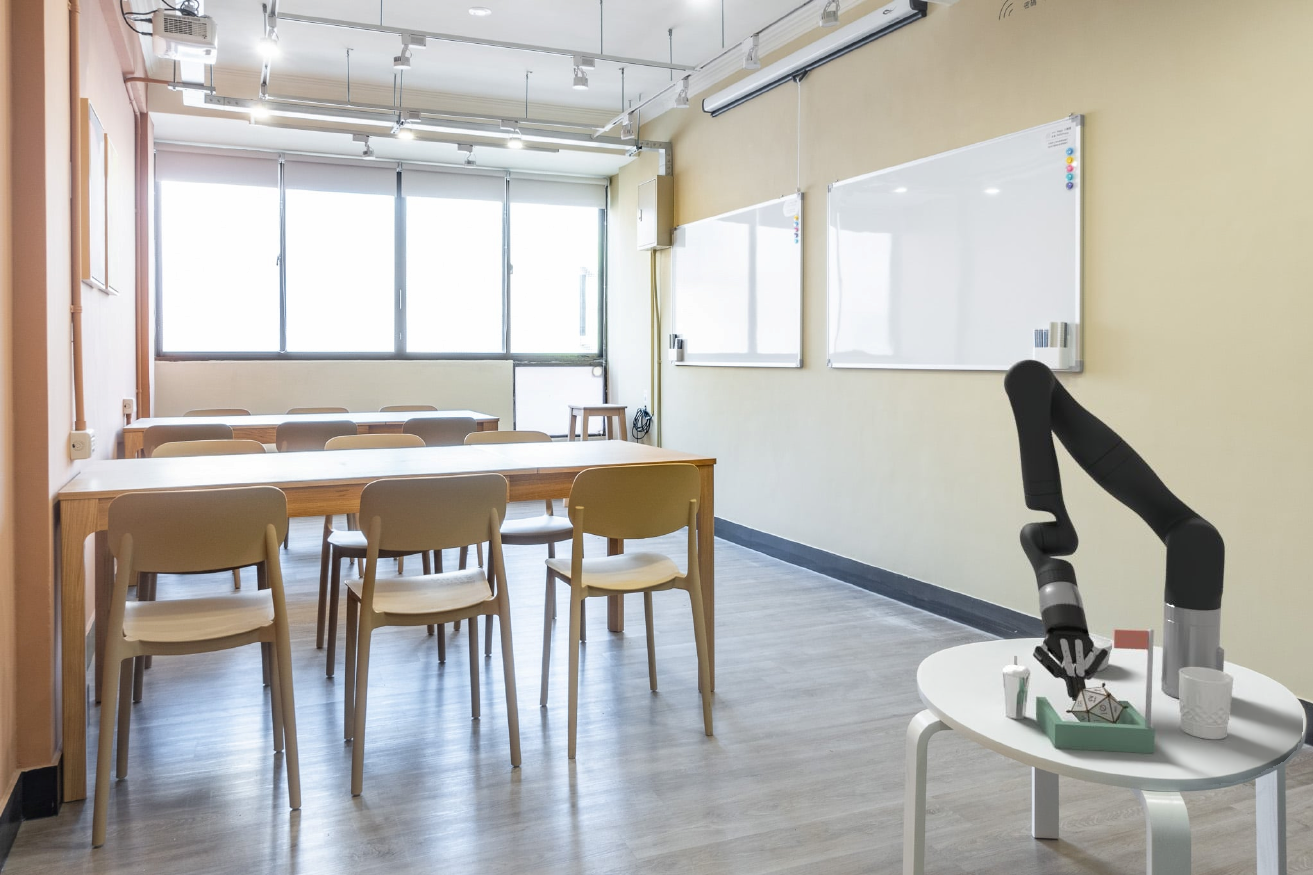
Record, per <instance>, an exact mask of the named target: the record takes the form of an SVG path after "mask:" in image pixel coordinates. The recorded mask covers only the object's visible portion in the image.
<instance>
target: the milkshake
mask: <svg viewBox="0 0 1313 875" xmlns="http://www.w3.org/2000/svg"><path fill="white" fill-rule="evenodd" d="M1013 657H1014V658H1013V664H1009V665H1006V666H1005V667H1003V669H1002V677H1003V678H1002V679H1003V680H1002V681H1003V688H1004V701H1005V702H1004V704H1005V715H1006V717H1008V718H1010V719H1014V720H1022V719H1026V712H1027V701H1028V692H1029V687H1030V678H1031V671H1030V669H1029V668H1028V667H1026V666H1023V665H1018V656H1017V655H1014V656H1013Z"/></svg>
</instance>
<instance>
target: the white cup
mask: <svg viewBox="0 0 1313 875" xmlns="http://www.w3.org/2000/svg"><path fill="white" fill-rule="evenodd" d="M1233 686H1234V676H1232V675H1231V674H1229V673H1227V672H1224V671H1223V672H1222V671H1218V670H1214V669H1209V668H1202V667H1185V668H1181V669H1180V670H1179V698H1178V700H1179V702H1178V703H1179V713H1180V728H1181V730H1182V731H1183V732H1184V733H1186V734H1188V735H1189V736H1193V737H1195V738H1201V739H1206V740H1222V739H1225V738H1227V736H1228V728H1229V726H1228V725H1229V721H1230V717H1231V716H1230V715H1231V707H1232V699H1233V698H1232V697H1233V689H1234V688H1233Z"/></svg>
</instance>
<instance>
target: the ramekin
mask: <svg viewBox="0 0 1313 875" xmlns="http://www.w3.org/2000/svg"><path fill="white" fill-rule="evenodd" d="M1089 637H1090V638H1091V640H1092V641H1093V643H1094V646H1095V647H1097V648H1099V649H1100V650H1102V649H1105V650H1107V651H1108V655H1107V657H1106V658H1105V660H1104V662H1103V663H1102V664H1101V666H1100V667H1099V669H1098V670H1097V671H1096V672H1102V671H1104V670H1105V669H1106V668H1107V666H1108V664H1109V661H1110V656H1111V653H1112V652H1111V651H1112V649H1113V643H1112V641H1110V640H1108V639H1107V638H1104V637H1102V636H1098V635H1094V634H1089ZM1093 661H1094V660H1093V659H1092V652H1090V653H1089V655H1088V656H1087V658H1086V659H1085V661H1084V670H1086V669H1088V668H1089V666H1090V665H1091V663H1092V662H1093ZM1057 663H1058V664H1059V661H1057Z"/></svg>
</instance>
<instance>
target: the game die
mask: <svg viewBox="0 0 1313 875" xmlns="http://www.w3.org/2000/svg"><path fill="white" fill-rule="evenodd" d="M1105 687H1106V683H1105V682H1103V683H1101V686H1096V687H1086V689H1082V687H1081V686H1080V685H1078V688H1079V689H1080V692H1079V694H1077V699H1076V701H1074V703H1073V705H1072V707H1071V709H1067V710H1066V711H1065V713H1067V714H1072V715H1073V716H1074V717H1075V719H1077V720H1078V722H1092V723H1111V724H1118V719H1119V717H1120V715H1121V713H1122V711H1123V709H1124V708H1125V709H1127V708H1128V706H1127V705H1126V706H1122V705H1121V704H1120V703H1119V702H1118V701H1119V700H1118V699H1116V697H1114V696H1113V694H1112V692H1109V690H1108V689H1106V688H1105Z"/></svg>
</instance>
